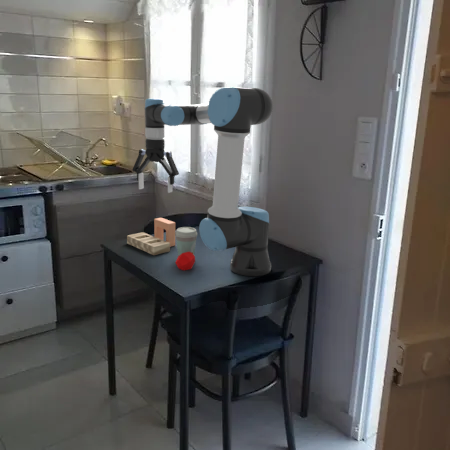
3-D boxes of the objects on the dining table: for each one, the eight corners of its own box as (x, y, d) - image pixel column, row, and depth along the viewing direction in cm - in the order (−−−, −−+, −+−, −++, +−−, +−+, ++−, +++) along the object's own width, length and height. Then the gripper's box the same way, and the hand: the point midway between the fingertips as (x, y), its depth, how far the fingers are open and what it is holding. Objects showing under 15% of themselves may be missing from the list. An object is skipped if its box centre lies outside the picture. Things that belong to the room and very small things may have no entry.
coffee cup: (193, 264, 182) (194, 233, 179) (172, 262, 183) (172, 231, 180) (199, 256, 190) (200, 227, 187) (178, 254, 192) (178, 225, 188)
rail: (170, 251, 195) (170, 243, 194) (153, 255, 190) (153, 246, 189) (143, 239, 208) (142, 232, 207) (127, 243, 203) (127, 235, 202)
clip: (175, 245, 203) (175, 222, 200) (168, 247, 200) (168, 223, 198) (161, 239, 210) (160, 217, 207) (154, 241, 207) (154, 218, 204)
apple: (180, 259, 171) (195, 247, 175) (169, 257, 176) (184, 246, 181) (187, 275, 174) (202, 263, 178) (176, 273, 179) (191, 261, 183)
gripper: (187, 139, 191) (186, 192, 197) (133, 135, 200) (134, 185, 206) (178, 141, 184) (178, 195, 190) (123, 137, 193) (124, 188, 199)
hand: (155, 190), depth 198 cm, fingers open, 13 cm apart
